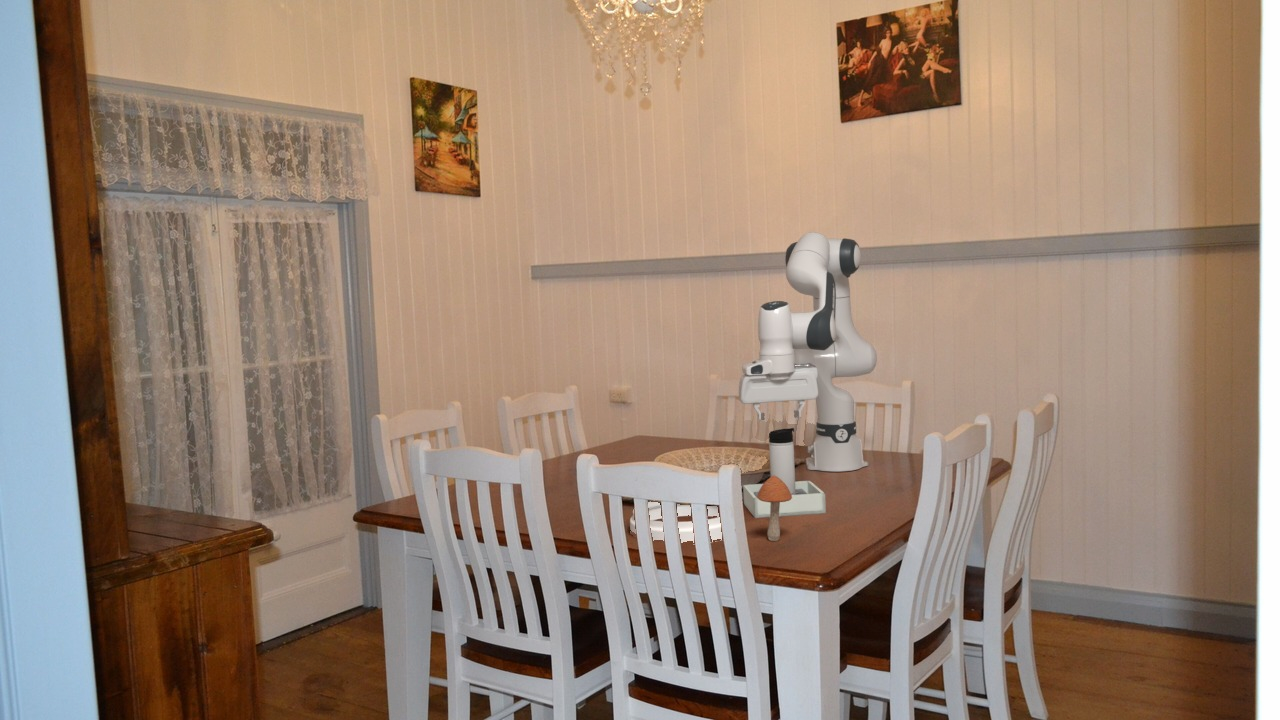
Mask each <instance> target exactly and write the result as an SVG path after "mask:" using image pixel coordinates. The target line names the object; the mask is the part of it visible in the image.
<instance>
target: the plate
mask: <svg viewBox="0 0 1280 720" xmlns="http://www.w3.org/2000/svg"><path fill="white" fill-rule="evenodd" d="M648 508H649V515H650V528H651V533H652V537H653V541H654V540H663V541H664V532H663V522H664V521H663V522H662V521H661V520H660V519H663V518H662V516H661V505H660V503H658V502H651V501H648ZM707 509H708V516H707V517H713V516H717V517H714V518H708V519H707V520H708V524H709V531H710V536H711V539H712V542H711V543H714V542H713V540H717V539H721V540H720V541H723V540H722V532H721V523H720V517H719V513H718V507H717V506H707ZM677 513H678V516H677V517H692V516H691V507H690V505H680V504H677ZM688 515H689V516H688ZM692 521H693V520H691V521H677V522H678V528H679V534H680V539H681V543H683V542H687V541H693V543H694V533H693V523H692ZM629 527H630V530H631V531H632V532H634V533H635V534H636V529H635V520H634V509H633V510H632V516H631V517H630V519H629ZM631 531H630V532H631Z"/></svg>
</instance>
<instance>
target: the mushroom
mask: <svg viewBox="0 0 1280 720" xmlns="http://www.w3.org/2000/svg"><path fill="white" fill-rule="evenodd" d="M762 484H763V485H762V487H761V488H760V490H759V493H758V495H757V498H758V499H759V500H760V501H764V502H771V503H770V517H769V522H768V527H767V533H766V534H767V538H768V540H769V541H771V542H779V540H780V536H781V528H780V516H779V508H780V502H786V501H789V500H791V499H792V496H791V493H790V491H789V489H788V487H787V486H786V484H785V483H784V482H783V481H782V480H781V479H780V478H778V477H777V476H775V475H774V476H772V477H771V476H770V477H769V478H767V479H766V480H765V481H764V483H762Z"/></svg>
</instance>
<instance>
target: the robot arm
mask: <svg viewBox="0 0 1280 720" xmlns="http://www.w3.org/2000/svg"><path fill="white" fill-rule="evenodd" d="M861 253H862V251H861V250H860V245H859V244H858V242H857V241H856V240H855V239H851V238H827V237H826V236H825V235H823V234H822V233H820V232H815V231H812V232H811V231H810V232H807V233H805V234H803V235H802V236H801V237H800V238H799V239H798V240H797V241H796V242H793V243H791V244H789V246H788V247H787V249H786V251H785V256H784V257H785V258H784V263H785V267H786V269H785V278H786V280H787V283H788V284H789V285H790V287H791V288H793V290H795V291H796V292H798V293H800V294H802V295H805V296H812V301H813V303H812V304H813V305H812V306H813V311H808V312H807V311H806V312H801V311H799V312H792V311H791V306H790V304H789V302H788V301H782V300H773V301H769V302H765V303H763V304H762V305H761V306H760V307H759V313H758V320H757V321H758V322H757V325H758V326H757V327H758V329H757V331H758V332H757V333H758V335H757V336H758V340H759V345H760V346H759V347H760V350H759V353H758V354H759V359H756V360H754V361H751V362H748V363H745V364H743V365H742V367H741V368H742V369H741V370H742V373H743V375H741V377H740V379H739V384H738V399H739V401H740V403H742V404H743V405H748V404H749V405H750V404H752V407H753V409H754V410H755V412H756V414H757V420H758V421H765V419H766V418H765V413H764V412H761V410H760V409H759V408H760V407H761V405H760V404H763V403H764V404H765V403H775V402H776V403H778V402H779V403H780V402H794V401H797V404H799V405H798V406H797V409H795V410H793V417H794V418H795V419H799V418H802V411H803V409H804V407H805V405H806V400H807V401H810V400H815V404H816V412H817V414H816V415H817V422H816V427H815V431H816V432H815V433H816V435H815V438H814V440H813V442H812V444H811V445H808V446H807V453H808V454H811V455H810V457H806V458H805V464H806V468H807V470H811V471H822V472H849V471H851V472H852V471H855V470H859V469H862V468H864V467H868V466H869V463H868V461H865V460H864V455H863V445H862V440H861V438H860V437H858V436H857V428H858V427H857V423H856V421H855V405H854V397H853V395H852V394H851V393H850V392H848V391H847V390H845V389H842V388H840V387H837V386H836V385H834V383H833V379H835V378H854V377H856V378H857V377H860V376H864V375H868V374H870V373H872V372H873V370H875V368H876V366H877V363H878V355H877V351H876V349H875V348H874V346H873V345H872V344H871V343H870V342H868V341H867V340H866V339H864V338H863V337H862V335H860V334H859V332H858V331H857V329H856V327H855V325H854V321H853V315H852V310H851V309H852V307H851V306H852V305H851V287H850V281H849V280H850V279H849V278H851V275H853V274H854V273H856V272H857V270H858V269H859V268H860V264H861V260H862V254H861Z"/></svg>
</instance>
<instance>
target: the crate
mask: <svg viewBox="0 0 1280 720" xmlns="http://www.w3.org/2000/svg"><path fill="white" fill-rule="evenodd" d="M763 484H764V483H755V484H743V485H742V490H743V491H742V492H743V493H742V494H743V505H744V506H745V507H746V508H747V510H748V511H749V512H750V514H751V515H752V516H753V517H754V519H760V518H761V519H762V518H770V503H771V502H764V501H760V500H759V499H758V498H757V495H758V493H759V490H760V488H761V487H762V485H763ZM795 489H796V495H791V496H792V499H791V500H789V501H786V502H780V508H779V517H787V516H788V517H790V516H791V517H793V516H802V515H803V516H804V515H805V516H806V515H817V514H819V515H820V514H826V513H827V508H826V507H827V506H826V504H827V503H826V493H825V492H824V491H823V490H822V489H820V488H819V487H818V486H817V485H816V484H815V483H813V482H812V481H811V480H799V481H795Z"/></svg>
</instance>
